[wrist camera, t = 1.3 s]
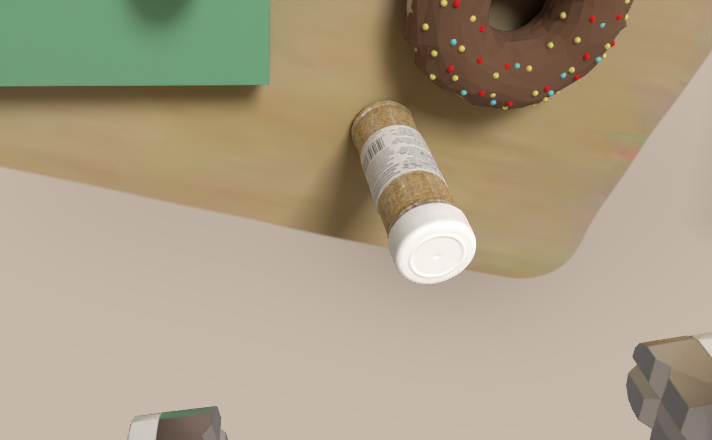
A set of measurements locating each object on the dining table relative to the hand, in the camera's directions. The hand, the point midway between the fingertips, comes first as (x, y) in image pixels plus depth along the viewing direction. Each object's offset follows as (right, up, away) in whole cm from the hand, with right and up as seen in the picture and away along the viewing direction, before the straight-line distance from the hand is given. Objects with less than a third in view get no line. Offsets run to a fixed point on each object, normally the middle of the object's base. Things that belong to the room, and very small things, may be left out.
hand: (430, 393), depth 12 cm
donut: (+8, +18, +27) cm, 34 cm away
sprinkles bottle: (0, +10, +32) cm, 33 cm away
